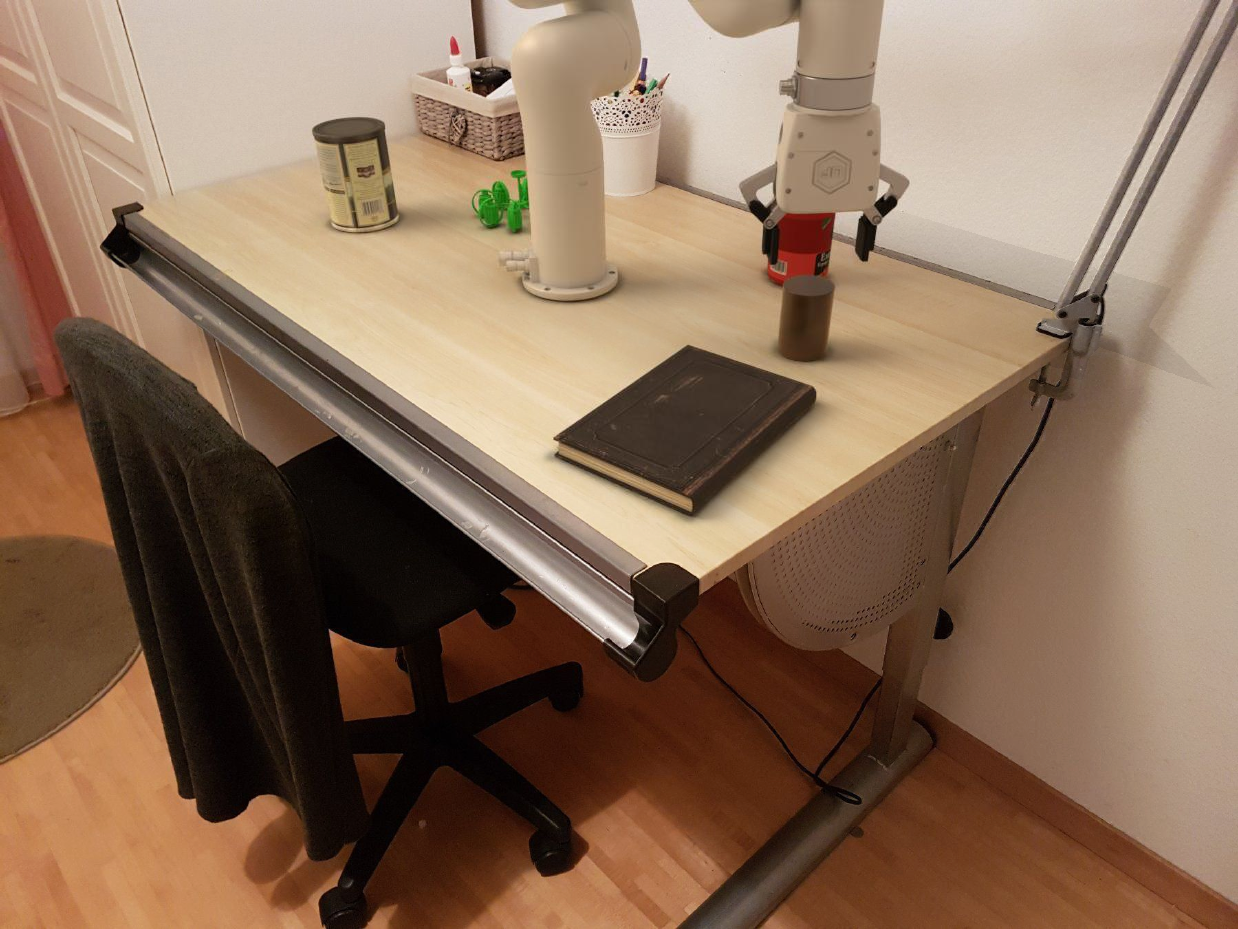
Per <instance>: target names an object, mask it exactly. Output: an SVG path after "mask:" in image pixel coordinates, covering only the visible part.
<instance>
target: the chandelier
mask: <svg viewBox="0 0 1238 929" xmlns="http://www.w3.org/2000/svg"><path fill="white" fill-rule="evenodd" d="M510 177H511V178H514V179H517V189H518V200H514V199H512V198H511V197H510V192H509V189H508V186H506V184H505V183H504V182H503V181H502V180H496V181H494V182H493V183H492V186H491V190H490V189H487V188H483V189H479V190H477V191H476V192H475V193H474V195H473V196H472V198H471V207H472V209H473V210H474V213H476V214H477V217H478V220H479V222H480V224H482V225H483V226H485V227H488V228H493V227H496V226H498V225H499V224H500V222H501V221H502V220H503V218H504V213H505V210H507V212H506V221H507V226H508V228H509V229H511V231H512V232H514V233H515V232H518V229H521V228H522V226H523V218H522V216H523V215H522V211H521V209H526V208H527V209H529V196H528V182H527V171H526V170H522V169H515V170H512V171H511V172H510ZM521 179H523V180H522V183H521ZM479 193H481V194H479ZM478 194H479V195H478ZM477 195H478V196H479V197H478V209H477V208H476V205H475V197H476V196H477ZM499 210H500V214H499ZM482 218H484V221H483V219H482Z"/></svg>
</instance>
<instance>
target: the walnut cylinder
mask: <svg viewBox="0 0 1238 929" xmlns="http://www.w3.org/2000/svg"><path fill="white" fill-rule="evenodd" d="M835 292H836V285H835V283H834V282H832V280H830V279H828V278H827V277H826V278H823V277H819V276H814V275H798V276H793V277H790V278H788V279H786V280H785V282H784V284H783V286H782V295H781V305H780V315H779V326H778V335H777V345H776V350H777V352H778V353H779V354H780V355H781V356H782V357H784V358H786V359H789V360H793V361H796V362H797V361H798V362H813V361H817V360H820V359H822V358H823V357H825V356H826V354H827V352H828V345H829V336H830V330H831V329H830V328H831V323H832V322H831V321H832V314H833V308H834V307H833V306H834V300H835V299H834V298H835Z"/></svg>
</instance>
